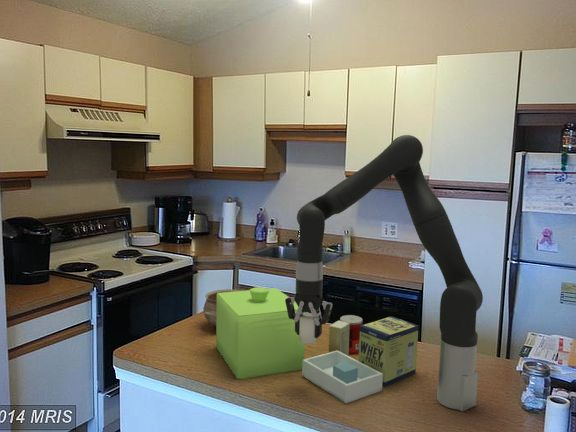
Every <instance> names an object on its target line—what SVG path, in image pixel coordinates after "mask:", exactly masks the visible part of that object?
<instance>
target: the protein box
mask: <svg viewBox="0 0 576 432" xmlns="http://www.w3.org/2000/svg"><path fill="white" fill-rule="evenodd" d="M418 339H419V325H418V324H415V323H412V322H409V321H406V320H403V319H400V318H397V317H395V316H391V315H390V316H388V317H385V318H382V319H378V320H375V321H372V322H368V323H365V324H363V325H361V326H360V342H359V353H358V361H359V362H361V363H363V364H365V365H367V366H369V367H371V368H373V369H375V370H376V371H378V372H380V373H382V374H383V381H382V388H385V387H387V386H390V385H392V384H394V383H397V382H399V381H401V380H403V379H406V378H408V377H410V376H412V375H416V372H417V359H418V358H417V356H418V342H419V341H418Z"/></svg>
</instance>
